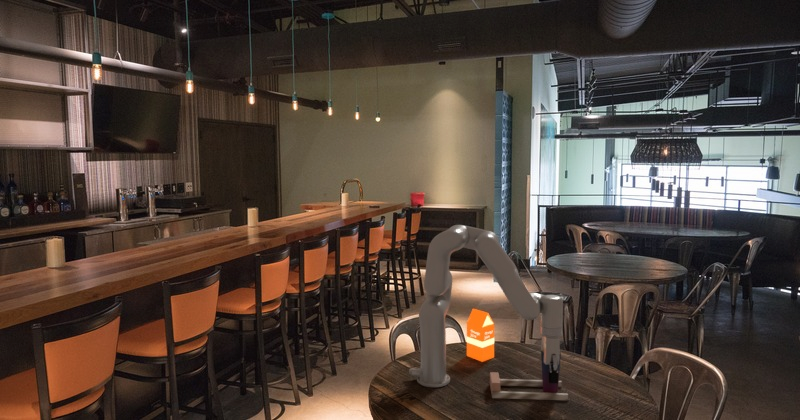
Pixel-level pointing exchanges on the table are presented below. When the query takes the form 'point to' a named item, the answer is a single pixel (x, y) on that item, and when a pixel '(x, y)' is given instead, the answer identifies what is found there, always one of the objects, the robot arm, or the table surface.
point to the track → (497, 393)
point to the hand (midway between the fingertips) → (550, 376)
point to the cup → (545, 373)
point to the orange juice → (480, 336)
